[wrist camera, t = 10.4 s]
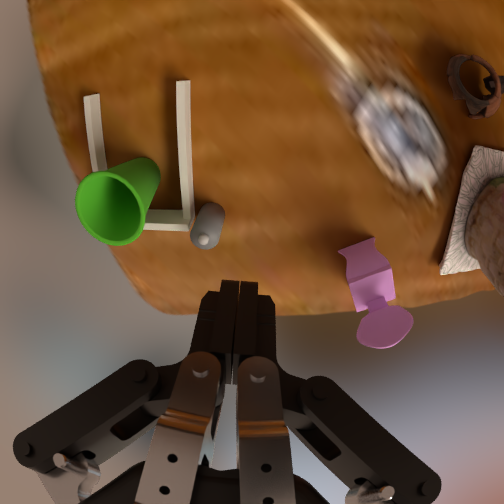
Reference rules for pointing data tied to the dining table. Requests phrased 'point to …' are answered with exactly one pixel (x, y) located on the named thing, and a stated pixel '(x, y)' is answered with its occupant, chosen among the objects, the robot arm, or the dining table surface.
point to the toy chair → (374, 296)
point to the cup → (117, 200)
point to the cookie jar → (479, 219)
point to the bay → (179, 220)
